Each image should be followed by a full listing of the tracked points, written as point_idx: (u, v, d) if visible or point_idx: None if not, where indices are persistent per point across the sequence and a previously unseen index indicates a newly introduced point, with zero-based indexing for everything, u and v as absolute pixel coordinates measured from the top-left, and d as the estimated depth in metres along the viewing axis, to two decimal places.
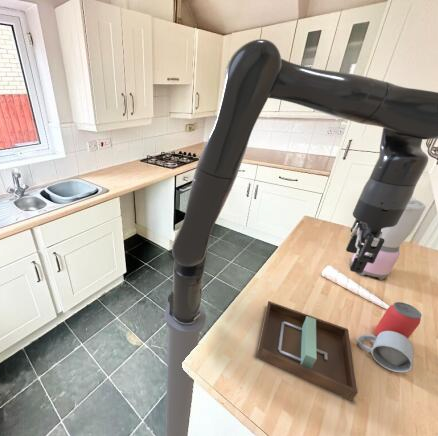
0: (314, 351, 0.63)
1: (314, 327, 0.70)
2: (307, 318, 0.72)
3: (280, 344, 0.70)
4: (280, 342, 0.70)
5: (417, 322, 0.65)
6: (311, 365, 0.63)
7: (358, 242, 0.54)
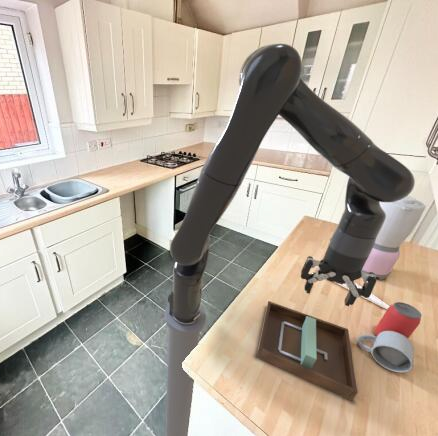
0: (314, 351, 0.63)
1: (314, 327, 0.70)
2: (307, 318, 0.72)
3: (280, 344, 0.70)
4: (280, 342, 0.70)
5: (417, 322, 0.65)
6: (311, 365, 0.63)
7: (353, 285, 0.58)
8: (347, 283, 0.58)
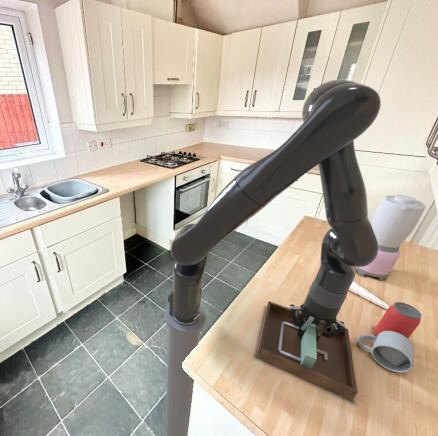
0: (314, 351, 0.63)
1: (314, 327, 0.70)
2: None
3: (280, 344, 0.70)
4: (280, 342, 0.70)
5: (417, 322, 0.65)
6: (311, 365, 0.63)
7: (323, 329, 0.66)
8: (320, 326, 0.66)
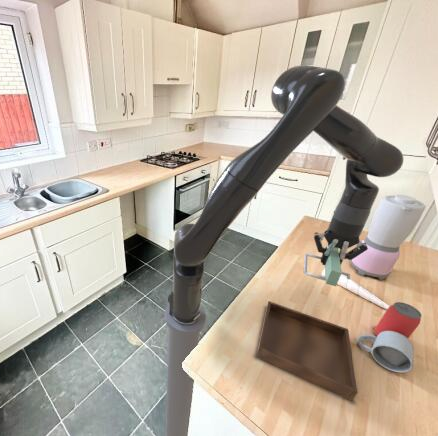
0: (339, 268, 0.69)
1: (337, 252, 0.75)
2: None
3: (305, 268, 0.75)
4: (305, 267, 0.76)
5: (417, 322, 0.65)
6: (336, 280, 0.68)
7: (346, 251, 0.72)
8: (343, 247, 0.71)
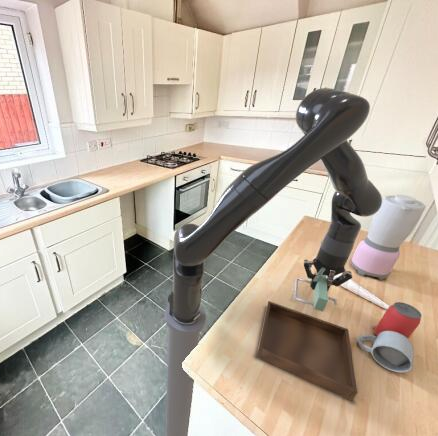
0: (326, 295, 0.75)
1: (325, 279, 0.81)
2: None
3: (295, 293, 0.81)
4: (295, 292, 0.82)
5: (417, 322, 0.65)
6: (323, 307, 0.74)
7: None
8: (330, 275, 0.77)
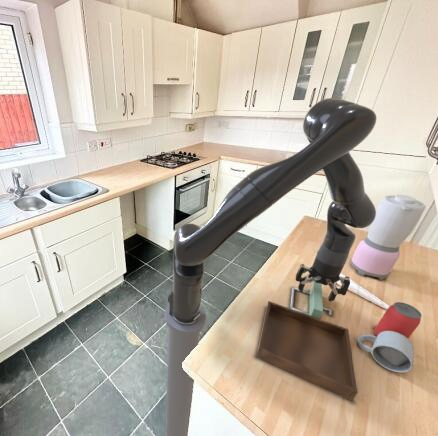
0: (321, 306, 0.77)
1: (320, 289, 0.83)
2: (314, 283, 0.86)
3: (292, 303, 0.83)
4: (292, 302, 0.84)
5: (417, 322, 0.65)
6: (318, 317, 0.77)
7: (334, 286, 0.78)
8: (329, 284, 0.79)
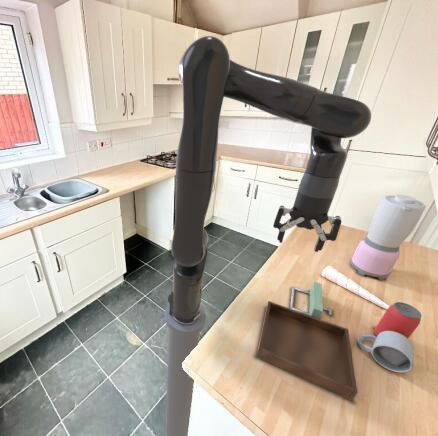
0: (321, 306, 0.77)
1: (320, 289, 0.83)
2: (314, 283, 0.86)
3: (292, 303, 0.83)
4: (292, 302, 0.84)
5: (417, 322, 0.65)
6: (318, 317, 0.77)
7: (320, 229, 0.61)
8: (315, 227, 0.61)
